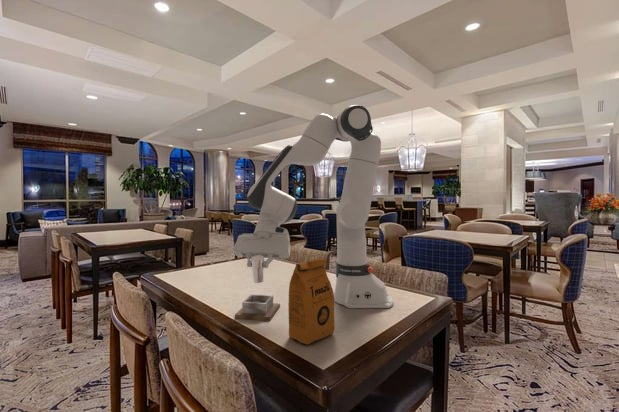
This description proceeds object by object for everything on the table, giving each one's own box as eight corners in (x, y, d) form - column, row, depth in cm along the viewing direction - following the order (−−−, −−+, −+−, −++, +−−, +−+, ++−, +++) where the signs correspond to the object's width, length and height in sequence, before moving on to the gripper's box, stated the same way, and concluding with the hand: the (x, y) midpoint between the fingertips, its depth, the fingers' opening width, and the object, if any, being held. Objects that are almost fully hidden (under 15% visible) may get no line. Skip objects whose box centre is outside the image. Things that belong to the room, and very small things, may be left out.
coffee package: (340, 336, 87) (340, 260, 86) (305, 350, 79) (305, 266, 78) (317, 324, 94) (317, 254, 93) (284, 336, 87) (283, 260, 86)
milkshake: (253, 279, 106) (252, 251, 106) (267, 280, 105) (266, 251, 105) (247, 283, 102) (245, 253, 102) (261, 283, 101) (260, 253, 100)
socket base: (280, 307, 109) (280, 294, 109) (270, 320, 97) (269, 306, 97) (248, 304, 111) (248, 292, 111) (234, 318, 99) (234, 304, 99)
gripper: (237, 228, 111) (225, 260, 102) (291, 229, 108) (284, 262, 99) (241, 238, 116) (231, 270, 107) (294, 239, 112) (287, 272, 103)
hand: (257, 266), depth 103 cm, fingers closed on milkshake, 4 cm apart
